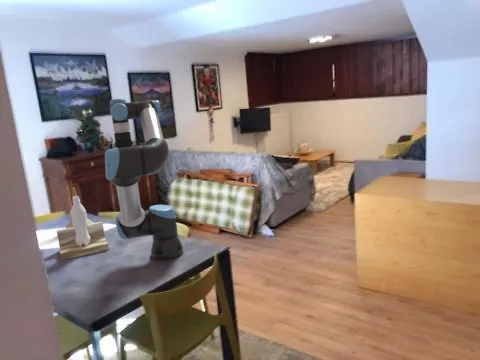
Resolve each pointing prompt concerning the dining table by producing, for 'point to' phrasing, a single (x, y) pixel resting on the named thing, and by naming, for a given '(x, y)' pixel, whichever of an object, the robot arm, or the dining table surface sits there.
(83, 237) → the water bottle
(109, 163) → the robot arm
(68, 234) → the board
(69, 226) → the handbell
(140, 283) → the dining table surface
